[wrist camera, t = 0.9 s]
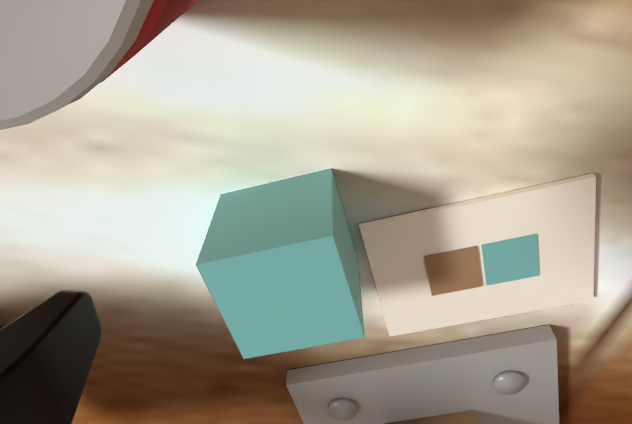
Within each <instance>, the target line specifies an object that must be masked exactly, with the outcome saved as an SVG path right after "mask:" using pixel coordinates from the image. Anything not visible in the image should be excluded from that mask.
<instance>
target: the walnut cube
mask: <svg viewBox="0 0 632 424" xmlns="http://www.w3.org/2000/svg"><path fill="white" fill-rule="evenodd" d="M385 424H478V422H477V418H476V415H475V411H474V410H469V411H462V412H456V413H449V414H443V415H436V416H429V417H423V418H416V419H410V420H403V421H396V422H390V423H385Z"/></svg>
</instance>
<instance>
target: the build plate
mask: <svg viewBox="0 0 632 424" xmlns="http://www.w3.org/2000/svg"><path fill="white" fill-rule="evenodd" d="M286 386H287V388H288V390H289V393H290V395H291V397H292V399H293V401H294V404H295V406H296V408H297V410H298V412H299V414H300V417H301V419H302V421H303V423H304V424H385V423H390V422H396V421H403V420H410V419H416V418H423V417H429V416H436V415H443V414H449V413H456V412H462V411H469V410H474V411H475V415H476V418H477V422H478V424H559V397H558V365H557V339H556V337H555V335H554V333H553V331H552V329H551V327H550V325H545V326H540V327H534V328H528V329H522V330H517V331H511V332H505V333H499V334H494V335H488V336H482V337H476V338H471V339H465V340H459V341H453V342H448V343H442V344H436V345H430V346H425V347H419V348H413V349H407V350H402V351H396V352H390V353H384V354H378V355H373V356H367V357H361V358H355V359H350V360H344V361H338V362H332V363H327V364H321V365H315V366H309V367H304V368H298V369H292V370H287V380H286Z"/></svg>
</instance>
